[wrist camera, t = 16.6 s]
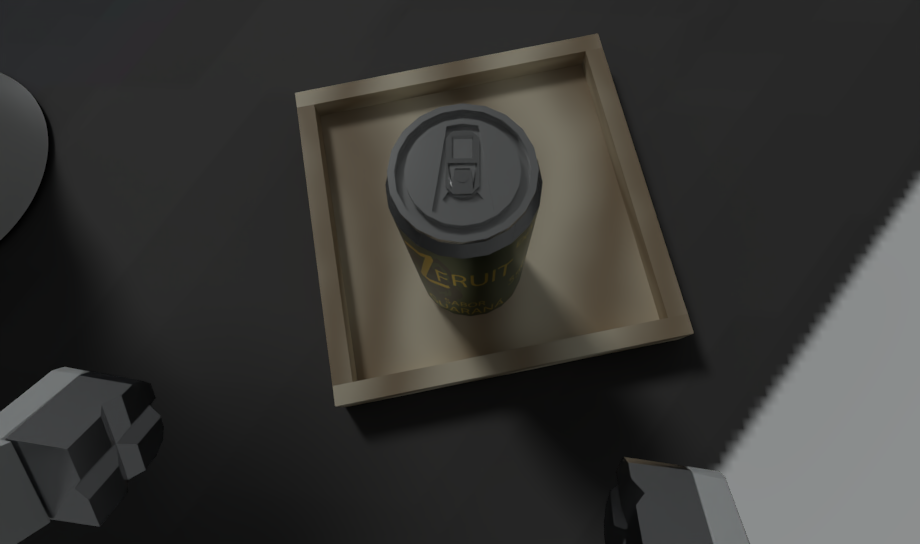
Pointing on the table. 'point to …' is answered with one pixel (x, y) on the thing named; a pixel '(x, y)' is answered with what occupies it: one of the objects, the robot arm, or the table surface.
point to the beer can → (465, 204)
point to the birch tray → (551, 245)
